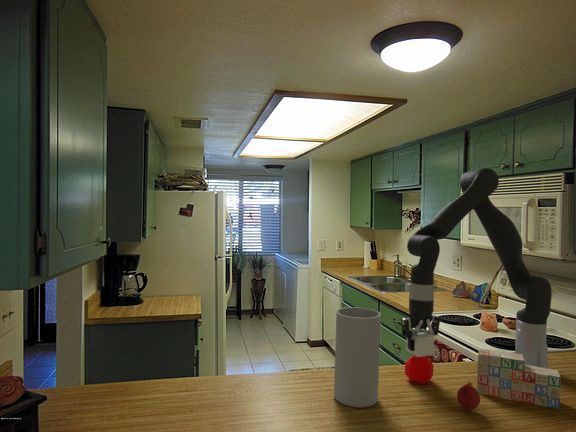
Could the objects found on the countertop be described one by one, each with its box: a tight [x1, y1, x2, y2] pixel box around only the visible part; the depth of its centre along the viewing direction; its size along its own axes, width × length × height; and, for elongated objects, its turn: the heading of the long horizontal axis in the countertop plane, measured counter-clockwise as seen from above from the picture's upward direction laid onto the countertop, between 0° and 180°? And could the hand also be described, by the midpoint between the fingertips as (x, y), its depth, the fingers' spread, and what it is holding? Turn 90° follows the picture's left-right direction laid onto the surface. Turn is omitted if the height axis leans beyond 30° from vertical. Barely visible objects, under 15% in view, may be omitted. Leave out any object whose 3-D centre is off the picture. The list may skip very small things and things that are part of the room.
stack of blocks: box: [476, 347, 562, 410], centre depth 124 cm, size 21×6×12 cm, turn 64°
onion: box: [456, 381, 481, 412], centre depth 115 cm, size 6×6×8 cm
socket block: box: [405, 329, 435, 357], centre depth 134 cm, size 6×6×7 cm
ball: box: [404, 355, 434, 385], centre depth 134 cm, size 8×8×8 cm
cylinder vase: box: [333, 306, 381, 409], centre depth 120 cm, size 12×12×25 cm
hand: (419, 349), depth 134 cm, fingers closed on socket block, 6 cm apart
